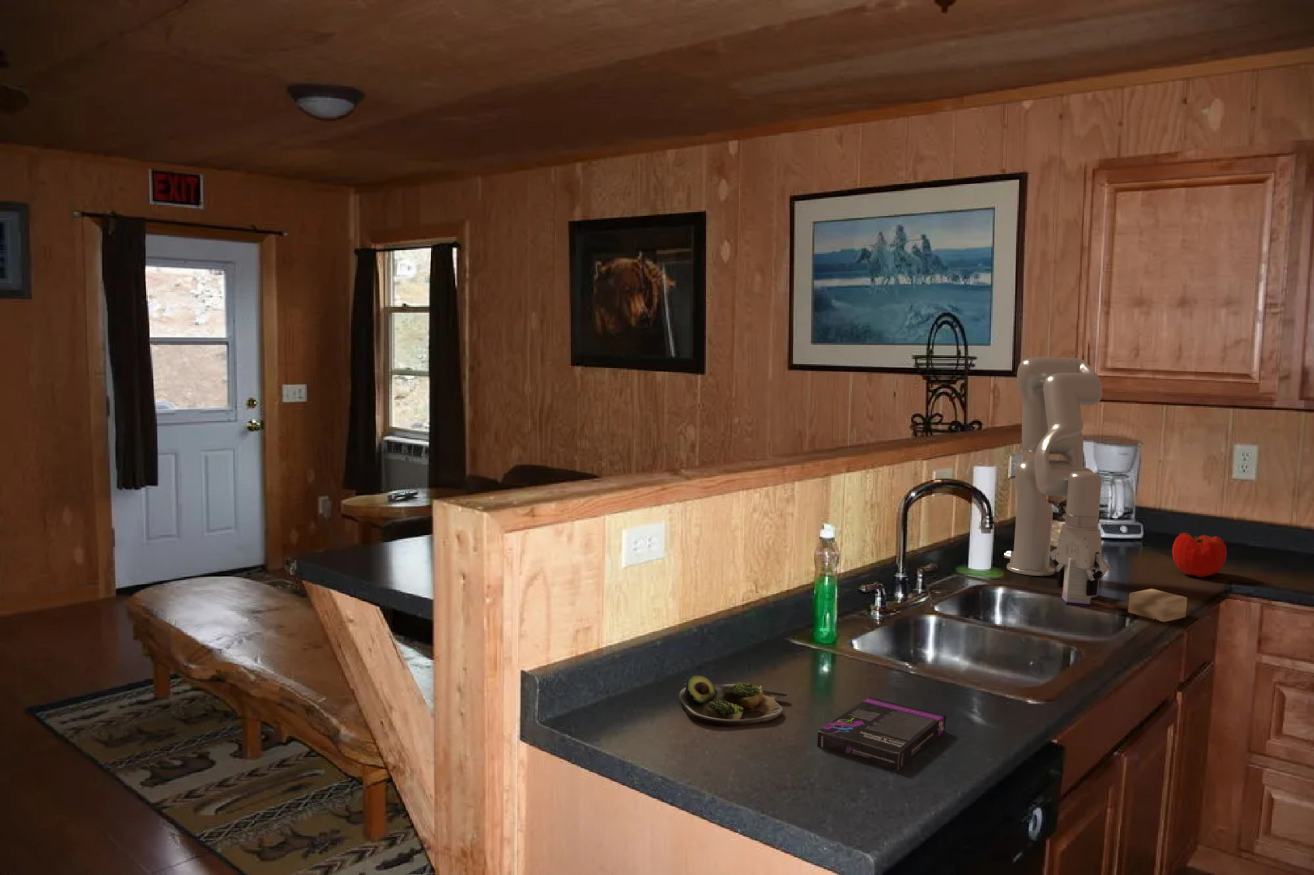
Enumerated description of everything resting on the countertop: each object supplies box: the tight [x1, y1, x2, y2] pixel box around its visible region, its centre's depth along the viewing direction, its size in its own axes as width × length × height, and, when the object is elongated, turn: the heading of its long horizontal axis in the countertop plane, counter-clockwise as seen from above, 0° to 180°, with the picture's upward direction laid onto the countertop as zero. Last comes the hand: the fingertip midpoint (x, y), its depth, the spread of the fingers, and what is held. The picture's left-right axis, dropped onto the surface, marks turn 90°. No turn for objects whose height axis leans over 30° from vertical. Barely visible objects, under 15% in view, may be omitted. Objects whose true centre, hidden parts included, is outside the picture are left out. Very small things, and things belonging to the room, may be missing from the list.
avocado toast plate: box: [678, 674, 788, 727], centre depth 174 cm, size 19×18×5 cm
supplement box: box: [1061, 558, 1094, 607], centre depth 248 cm, size 6×6×12 cm
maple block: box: [1127, 588, 1188, 623], centre depth 239 cm, size 9×9×5 cm
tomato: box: [1171, 532, 1228, 578], centre depth 281 cm, size 13×14×12 cm
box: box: [816, 696, 947, 771], centre depth 162 cm, size 14×4×20 cm
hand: (1076, 590), depth 248 cm, fingers closed on supplement box, 7 cm apart
